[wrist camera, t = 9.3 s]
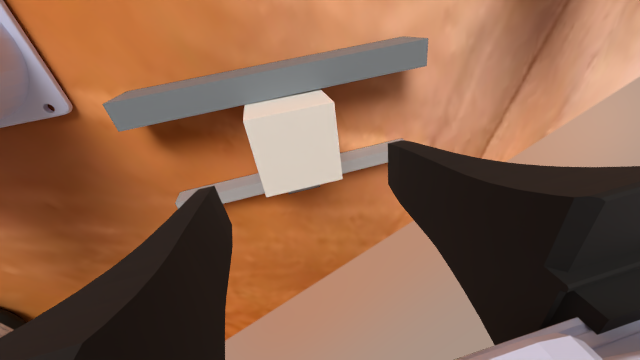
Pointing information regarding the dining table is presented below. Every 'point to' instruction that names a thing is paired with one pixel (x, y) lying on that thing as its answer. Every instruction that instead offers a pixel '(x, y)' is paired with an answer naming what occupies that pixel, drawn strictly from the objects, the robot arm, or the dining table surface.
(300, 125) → the cabinet block
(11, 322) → the wine bottle
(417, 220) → the robot arm
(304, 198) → the dining table surface
